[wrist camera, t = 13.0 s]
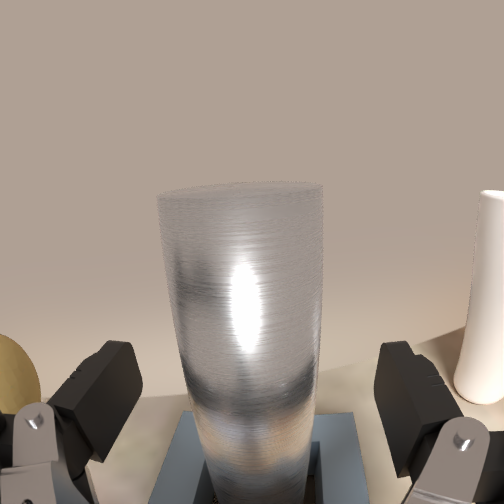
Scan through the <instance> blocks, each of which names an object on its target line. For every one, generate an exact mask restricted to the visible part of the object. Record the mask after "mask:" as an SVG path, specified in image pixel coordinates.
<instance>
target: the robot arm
mask: <svg viewBox="0 0 504 504" xmlns="http://www.w3.org/2000/svg"><path fill="white" fill-rule="evenodd" d="M444 383H445V382H444V381H443V379H442V377H441V376H439V372H438V371H437V369H436V367H435V366H434V364H433V363H432V362H431V361H430V360H428V359H427V358H425V357H424V356H423V355H421V354H420V355H414V353H413V351H412V349H411V348H410V346H409V344H408V343H407V342H406V341H397V342H388V343H383V344H382V345H381V348H380V354H379V359H378V365H377V370H376V375H375V380H374V397H375V401H376V405H377V408H378V411H379V414H380V418H381V421H382V424H383V428H384V431H385V435H386V438H387V442H388V445H389V449H390V452H391V456H392V460H393V463H394V467H395V471H396V475H397V478H401V477H406V476H410V477H411V481H412V485H411V486H410V488H409V490H408V491H407V493H406V495H405V497H404V499H403V500H402V502H401V504H471V503H474V502H475V503H476V504H504V431H488V430H487V428H486V427H485V425H484V424H483V423H481V422H480V421H478V420H476V419H474V418H470V417H464V415H463V414H462V412H461V410H460V408H459V406H458V405H457V403H456V401H455V399H454V398H453V396H452V394H451V392H450V391H449V389H448V387H447V386H446V385H445V384H444ZM142 387H143V382H142V377H141V373H140V370H139V367H138V363H137V360H136V356H135V353H134V349H133V347H132V345H131V343H129V342H120V341H111V340H109V341H107V342H106V343H105V344H104V345H103V347H102V348H101V349H100V350H99V351H98V352H97V353H95V354H93V355H91V356H90V357H88V358H86V359H85V360H84V361H83V362H82V363H81V364H80V365H79V366H78V367H77V369H76V371H74V372H73V373H72V374H71V375H70V378H68V379H67V380H66V381H65V382H64V383H63V384H62V386H61V387H60V388H59V389H58V391H57V392H56V393H55V394H54V395H53V396H52V397H51V399H50V400H49V401H48V402H47V403H46V404H45V403H40V402H37V403H32V404H29V405H26V406H24V407H23V408H22V409H20V410H19V411H18V413H17V414H4V413H2V412H1V410H0V504H99V502H98V499H97V495H96V492H95V489H94V485H93V482H92V478H91V474H90V471H89V468H88V466H87V465H86V464H87V463H88V461H89V459H91V460H94V461H98V462H101V463H103V462H104V461H105V459H106V457H107V455H108V453H109V451H110V450H111V448H112V446H113V444H114V442H115V440H116V439H117V437H118V435H119V433H120V431H121V430H122V428H123V426H124V424H125V422H126V421H127V419H128V417H129V415H130V413H131V412H132V410H133V408H134V406H135V404H136V403H137V401H138V399H139V397H140V395H141V392H142Z"/></svg>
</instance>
